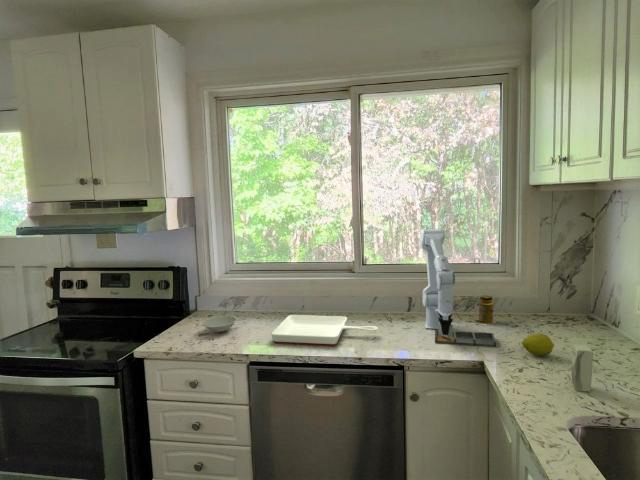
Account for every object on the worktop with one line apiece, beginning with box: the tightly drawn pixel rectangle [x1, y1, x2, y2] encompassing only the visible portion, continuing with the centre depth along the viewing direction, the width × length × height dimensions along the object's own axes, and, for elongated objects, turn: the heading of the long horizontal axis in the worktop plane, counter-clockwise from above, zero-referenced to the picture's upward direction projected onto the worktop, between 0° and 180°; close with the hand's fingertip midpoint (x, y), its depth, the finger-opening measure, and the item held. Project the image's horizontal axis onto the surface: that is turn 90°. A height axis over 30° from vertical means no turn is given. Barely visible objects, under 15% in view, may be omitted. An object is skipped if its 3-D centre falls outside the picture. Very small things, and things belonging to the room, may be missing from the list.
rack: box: [434, 329, 497, 348], centre depth 171 cm, size 10×23×2 cm, turn 74°
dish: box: [202, 314, 238, 333], centre depth 192 cm, size 18×14×5 cm
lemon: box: [521, 333, 555, 357], centre depth 154 cm, size 11×8×8 cm
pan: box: [270, 314, 379, 347], centre depth 183 cm, size 28×44×5 cm, turn 78°
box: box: [570, 344, 594, 393], centre depth 128 cm, size 5×4×13 cm
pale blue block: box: [437, 323, 454, 338], centre depth 173 cm, size 3×5×5 cm, turn 30°
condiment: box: [472, 295, 497, 326], centre depth 194 cm, size 7×8×12 cm
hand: (445, 332), depth 173 cm, fingers closed on pale blue block, 6 cm apart
